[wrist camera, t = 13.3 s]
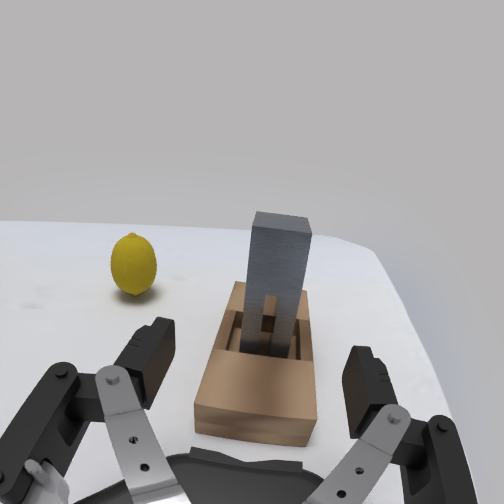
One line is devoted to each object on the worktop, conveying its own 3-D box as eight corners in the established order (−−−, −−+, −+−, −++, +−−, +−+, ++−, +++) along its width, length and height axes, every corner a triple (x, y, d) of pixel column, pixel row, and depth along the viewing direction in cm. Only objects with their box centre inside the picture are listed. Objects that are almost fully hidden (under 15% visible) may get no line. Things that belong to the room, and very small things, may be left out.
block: (237, 363, 25) (252, 225, 20) (243, 335, 29) (256, 211, 24) (284, 369, 25) (312, 233, 20) (285, 341, 28) (307, 218, 24)
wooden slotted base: (195, 432, 19) (193, 403, 18) (233, 307, 36) (235, 281, 35) (305, 446, 19) (317, 419, 17) (301, 316, 35) (306, 290, 34)
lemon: (148, 281, 39) (146, 223, 36) (164, 301, 35) (163, 237, 32) (109, 289, 36) (103, 229, 33) (120, 311, 32) (114, 244, 29)
